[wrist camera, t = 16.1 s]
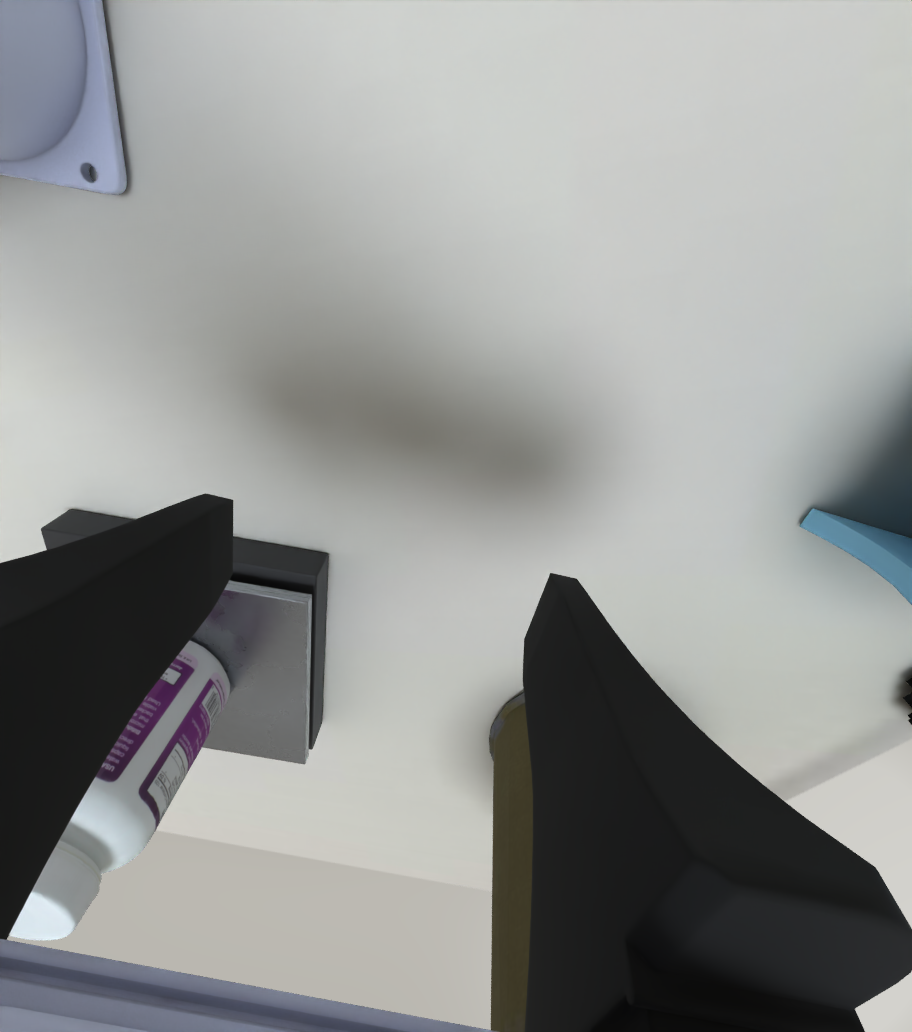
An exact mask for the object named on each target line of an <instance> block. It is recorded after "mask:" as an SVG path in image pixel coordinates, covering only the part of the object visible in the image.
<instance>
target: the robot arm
mask: <svg viewBox="0 0 912 1032" xmlns="http://www.w3.org/2000/svg"><path fill="white" fill-rule="evenodd" d="M91 165H92V166H93V167H94V168H95V170H96V173H97V180H96V181H95V182H94V181H93V179H92V178H91V176H90V174H89V167H90V166H91ZM0 175H6V176H11V177H17V178H22V179H28V180H33V181H39V182H44V183H50V184H55V185H61V186H66V187H72V188H77V189H83V190H88V191H93V192H99V193H104V194H112V195H118V194H121V193H123V192H124V191H125V189H126V187H127V176H126V169H125V162H124V155H123V147H122V140H121V133H120V126H119V119H118V111H117V104H116V97H115V90H114V82H113V75H112V68H111V61H110V54H109V46H108V39H107V32H106V25H105V18H104V10H103V3H102V0H0ZM232 574H233V500H231V499H227V498H223V497H218V496H214V495H210V494H203V495H199V496H196V497H193V498H190V499H188V500H185V501H182V502H180V503H177V504H174V505H172V506H169V507H167V508H164V509H161V510H159V511H156V512H154V513H151V514H149V515H146V516H143V517H141V518H138V519H136V520H133V521H130V522H128V523H125V524H123V525H120V526H117V527H115V528H112V529H109V530H106V531H103V532H100V533H97V534H94V535H91V536H88V537H86V538H83V539H80V540H77V541H74V542H71V543H68V544H65V545H62V546H59V547H56V548H53V549H49V550H46V551H43V552H39V553H36V554H32V555H29V556H25V557H21V558H18V559H14V560H10V561H6V562H3V563H0V1032H497V1031H492V1030H486V1029H481V1028H476V1027H470V1026H465V1025H460V1024H455V1023H449V1022H444V1021H438V1020H433V1019H428V1018H422V1017H417V1016H411V1015H406V1014H401V1013H395V1012H390V1011H385V1010H379V1009H374V1008H369V1007H363V1006H358V1005H353V1004H347V1003H341V1002H336V1001H331V1000H326V999H320V998H315V997H309V996H304V995H299V994H294V993H288V992H283V991H277V990H272V989H266V988H261V987H256V986H251V985H245V984H240V983H235V982H229V981H223V980H218V979H213V978H208V977H202V976H197V975H191V974H186V973H181V972H175V971H170V970H164V969H159V968H154V967H149V966H143V965H138V964H133V963H127V962H122V961H116V960H111V959H106V958H100V957H94V956H90V955H84V954H79V953H73V952H68V951H63V950H57V949H52V948H46V947H41V946H36V945H30V944H25V943H20V942H15V941H9V940H7V937H8V936H9V934H10V932H11V930H12V928H13V926H14V924H15V922H16V920H17V918H18V916H19V914H20V913H21V911H22V909H23V907H24V905H25V903H26V901H27V899H28V897H29V895H30V893H31V892H32V890H33V888H34V886H35V884H36V882H37V880H38V878H39V876H40V874H41V872H42V870H43V869H44V867H45V865H46V863H47V861H48V859H49V858H50V856H51V854H52V852H53V850H54V849H55V847H56V845H57V843H58V841H59V840H60V838H61V836H62V834H63V832H64V831H65V829H66V827H67V825H68V823H69V822H70V820H71V818H72V816H73V814H74V813H75V811H76V809H77V807H78V805H79V804H80V802H81V800H82V799H83V797H84V795H85V794H86V792H87V790H88V788H89V787H90V785H91V783H92V782H93V780H94V778H95V777H96V775H97V773H98V772H99V770H100V768H101V766H102V765H103V763H104V761H105V760H106V758H107V756H108V755H109V753H110V751H111V750H112V748H113V747H114V745H115V743H116V742H117V740H118V739H119V737H120V735H121V734H122V732H123V731H124V729H125V727H126V726H127V724H128V723H129V721H130V719H131V718H132V716H133V715H134V713H135V712H136V710H137V709H138V707H139V706H140V704H141V703H142V702H143V700H144V699H145V697H146V696H147V695H148V693H149V692H150V691H151V689H152V688H153V687H154V685H155V684H156V683H157V682H158V680H159V679H160V678H161V676H162V675H163V674H164V673H165V671H166V670H167V669H168V667H169V666H170V665H171V664H172V662H173V661H174V660H175V658H176V657H177V656H178V655H179V653H180V652H181V651H182V649H183V648H184V647H185V646H186V644H187V643H188V642H189V640H190V639H191V638H192V636H193V635H194V634H195V633H196V631H197V630H198V629H199V627H200V626H201V625H202V623H203V622H204V621H205V619H206V618H207V617H208V615H209V614H210V613H211V611H212V610H213V608H214V606H215V605H216V603H217V601H218V600H219V598H220V596H221V595H222V593H223V591H224V589H225V587H226V585H227V584H228V582H229V580H230V578H231V576H232ZM523 686H524V698H525V709H526V720H527V730H528V740H529V751H530V761H531V771H532V789H533V848H532V894H531V919H530V944H529V965H528V982H527V999H526V1016H525V1032H865V1031H864V1029H863V1026H862V1024H861V1022H860V1020H859V1018H858V1016H857V1013H856V1011H855V1008H856V1007H858V1006H860V1005H861V1004H863V1003H865V1002H866V1001H868V1000H870V999H871V998H873V997H875V996H876V995H878V994H880V993H881V992H883V991H885V990H886V989H888V988H890V987H891V986H893V985H895V984H896V983H898V982H899V981H900V980H901V979H903V978H904V977H905V976H907V975H908V974H909V973H911V971H912V929H911V927H910V925H909V924H908V922H907V920H906V918H905V917H904V915H903V914H902V912H901V910H900V908H899V906H898V905H897V903H896V901H895V900H894V898H893V896H892V894H891V893H890V891H889V889H888V888H887V886H886V884H885V883H884V881H883V879H882V877H881V876H880V874H879V872H878V871H877V869H876V868H875V867H874V866H873V865H871V864H870V863H868V862H867V861H866V860H864V859H863V858H861V857H860V856H859V855H857V854H856V853H854V852H853V851H852V850H850V849H849V848H847V847H846V846H844V845H843V844H842V843H840V842H839V841H837V840H836V839H834V838H833V837H832V836H830V835H829V834H827V833H826V832H825V831H823V830H822V829H820V828H819V827H818V826H816V825H815V824H813V823H812V822H811V821H809V820H808V819H806V818H805V817H804V816H802V815H801V814H800V813H798V812H797V811H796V810H795V809H793V808H792V807H791V806H789V805H788V804H787V803H786V802H784V801H783V800H782V799H781V798H779V797H778V796H777V795H775V794H774V793H773V792H772V791H770V790H769V789H768V788H767V787H765V786H764V785H763V784H762V783H760V782H759V781H758V780H757V779H756V778H754V777H753V776H752V775H751V774H750V773H748V772H747V771H746V770H745V769H744V768H742V767H741V766H740V765H739V764H738V763H737V762H735V761H734V760H733V759H732V758H731V757H730V756H729V755H728V754H727V753H725V752H724V751H723V750H722V749H721V748H720V747H719V746H718V745H717V744H715V743H714V742H713V741H712V740H711V739H710V738H709V737H708V736H707V735H706V734H705V733H704V732H702V731H701V730H700V729H699V728H698V727H697V726H696V725H695V724H694V723H693V722H692V721H691V720H690V719H689V718H688V717H687V716H686V715H685V714H684V713H683V712H682V711H681V709H680V708H679V707H678V706H677V705H676V704H675V703H674V702H673V701H672V700H671V699H670V698H669V697H668V696H667V695H666V694H665V693H664V692H663V690H662V689H661V688H660V687H659V686H658V685H657V684H656V683H655V681H654V680H653V679H652V678H651V677H650V675H649V674H648V673H647V672H646V671H645V670H644V668H643V667H642V666H641V665H640V664H639V662H638V661H637V660H636V659H635V657H634V656H633V655H632V654H631V652H630V651H629V650H628V649H627V647H626V646H625V645H624V643H623V642H622V641H621V639H620V638H619V637H618V635H617V634H616V633H615V631H614V630H613V629H612V627H611V626H610V624H609V623H608V622H607V620H606V619H605V618H604V616H603V615H602V613H601V612H600V611H599V609H598V608H597V606H596V605H595V603H594V602H593V601H592V599H591V598H590V596H589V595H588V593H587V592H586V591H585V589H584V588H583V587H582V585H581V584H580V583H579V581H578V580H577V579H575V578H570V577H566V576H562V575H557V574H553V573H550V576H549V578H548V581H547V583H546V586H545V588H544V591H543V593H542V596H541V598H540V601H539V603H538V606H537V609H536V611H535V614H534V616H533V619H532V621H531V624H530V626H529V629H528V631H527V634H526V636H525V639H524V659H523Z"/></svg>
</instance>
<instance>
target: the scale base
mask: <svg viewBox="0 0 912 1032" xmlns="http://www.w3.org/2000/svg"><path fill="white" fill-rule="evenodd" d="M130 521H133V520H130V519H125V518H119V517H113V516H107V515H101V514H96V513H90V512H84V511H78V510H73V509H71V510H68V511H67V512H65V513H64V514H62V515H61V516H59V517H58V518H56V519H55V520H53V521H52V522H50V523H49V524H47V525H46V526H44V527H43V528H41V531H42V535H43V538H44V542H45V545H46V548H47V550H49V549H53V548H56V547H59V546H62V545H65V544H68V543H71V542H74V541H77V540H80V539H83V538H86V537H88V536H91V535H94V534H97V533H100V532H103V531H106V530H109V529H112V528H115V527H117V526H120V525H123V524H125V523H128V522H130ZM230 580H231V581H236V582H242V583H248V584H254V585H260V586H265V587H271V588H277V589H283V590H289V591H295V592H300V593H306V594H311V595H312V615H311V663H310V711H309V749H313V746H314V744H315V741H316V738H317V735H318V732H319V730H320V727H321V724H322V706H323V681H324V656H325V630H326V605H327V580H328V554H327V553H321V552H315V551H309V550H303V549H298V548H292V547H286V546H280V545H275V544H269V543H263V542H257V541H252V540H246V539H240V538H234V537H233V574H232V576H231V578H230Z"/></svg>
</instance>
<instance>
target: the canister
mask: <svg viewBox="0 0 912 1032" xmlns="http://www.w3.org/2000/svg"><path fill="white" fill-rule="evenodd" d="M489 745H490V754H491V757H492V760H493V761H494V786H493V878H492V969H491V975H492V976H491V980H492V981H491V1030H492V1031H497V1032H525V1016H526V999H527V982H528V965H529V944H530V919H531V894H532V848H533V789H532V771H531V761H530V751H529V740H528V730H527V720H526V709H525V698H524V693H522V694H521V695H519V696H518V697H516V698H514V699H513V700H511V701H510V702H508V704H507V705H506V706H505V708H504V709H503V710H502V712H501V713H500V714H499V715H498V717H497V718H496V720H495V722H494V724H493V725H492V727H491V732H490V738H489Z"/></svg>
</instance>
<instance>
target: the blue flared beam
mask: <svg viewBox="0 0 912 1032" xmlns="http://www.w3.org/2000/svg"><path fill="white" fill-rule="evenodd" d="M800 527H802V528H804V529H805V530H807V531H809V532H811V533H813V534H815V535H817V536H819V537H821V538H823V539H825V540H827V541H828V542H830V543H832V544H834V545H836V546H837V547H839V548H841V549H843V550H844V551H846V552H848V553H849V554H851V555H852V556H854V557H855V558H857V559H859V560H860V561H862V562H863V563H865V564H866V565H868V566H869V567H871V568H872V569H873V570H874V571H876V572H877V573H878V574H879V575H881V576H882V577H883V578H885V579H886V580H887V581H888V582H890V583H891V584H892V585H893V586H894V587H895V588H896V589H897V590H898V591H899V592H900V593H901V594H902V595H903V596H904V597H905V598H906V599H907V600H908V602H909V603H910V604H911V605H912V538H908V537H905V536H902V535H898V534H895V533H892V532H889V531H885V530H882V529H879V528H876V527H872V526H869V525H866V524H862V523H859V522H856V521H853V520H849V519H846V518H843V517H840V516H836V515H833V514H830V513H826V512H823V511H820V510H817V509H812V510H811V511H810V512H809V514H808V515H807V517H806V518H805V519H804V521H803V522H802V523H801V525H800Z"/></svg>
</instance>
